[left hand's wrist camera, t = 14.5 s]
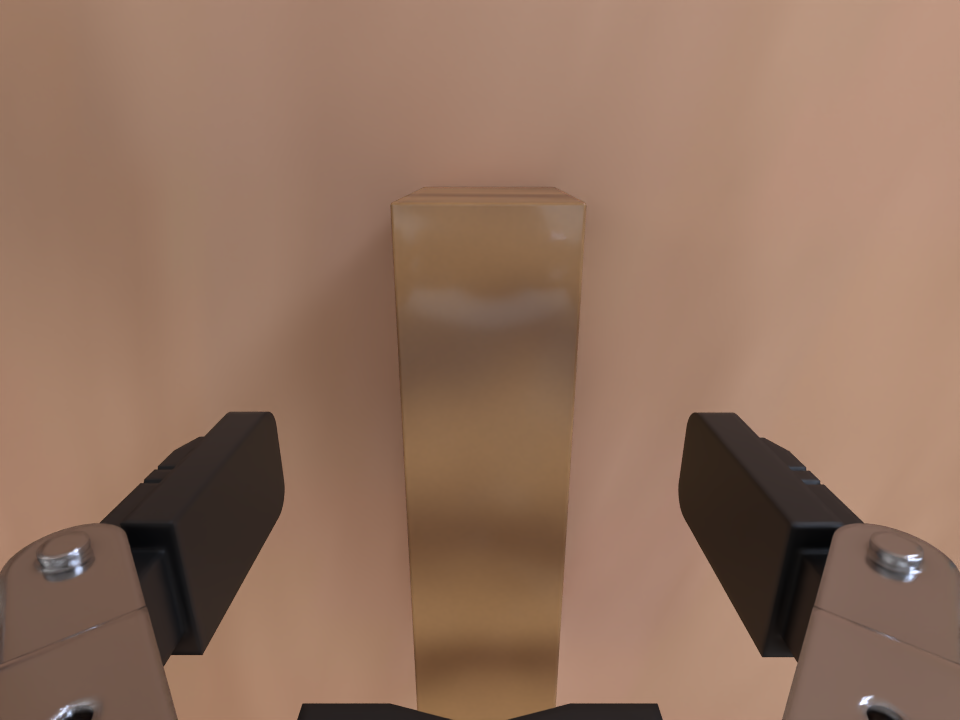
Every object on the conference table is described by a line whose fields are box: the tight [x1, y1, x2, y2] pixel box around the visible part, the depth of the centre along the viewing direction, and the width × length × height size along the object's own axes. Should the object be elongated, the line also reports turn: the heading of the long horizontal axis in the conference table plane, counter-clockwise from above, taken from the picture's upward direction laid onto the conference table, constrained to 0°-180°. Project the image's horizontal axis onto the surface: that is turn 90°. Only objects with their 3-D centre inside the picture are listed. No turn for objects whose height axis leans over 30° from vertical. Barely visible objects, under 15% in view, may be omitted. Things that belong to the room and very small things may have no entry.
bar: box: [390, 187, 586, 720], centre depth 25 cm, size 23×6×9 cm, turn 0°
